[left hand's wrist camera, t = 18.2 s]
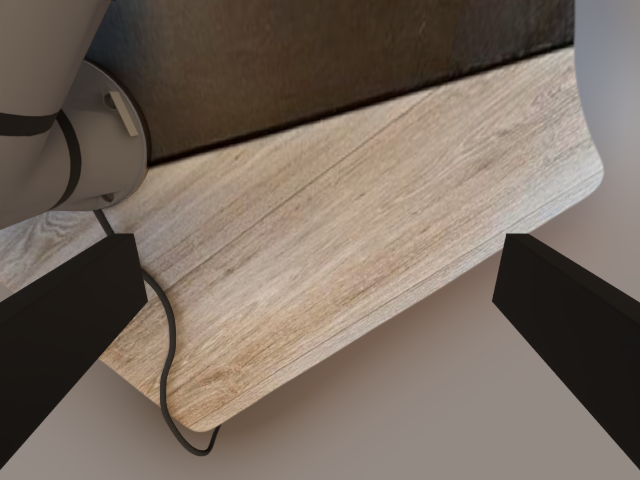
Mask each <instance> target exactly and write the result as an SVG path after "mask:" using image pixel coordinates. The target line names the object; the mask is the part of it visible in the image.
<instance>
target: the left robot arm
mask: <svg viewBox="0 0 640 480" xmlns="http://www.w3.org/2000/svg"><path fill="white" fill-rule="evenodd" d="M111 1H112V0H0V230H1V229H4V228H6V227H9V226H11V225H14V224H16V223H19V222H21V221H24V220H26V219H29V218H31V217H34V216H36V215H39V214H41V213H44V212H46V211H92V210H93V212H94V213H95V215H96V217H97V219H98V220H99V222H100V224H101V226H102V227H103V229H104V231H105V233H106V234H107V237H106V238H104V239H102V240H101V241H99V242H97V243H96V244H94V245H93V246H91V247H89V248H88V249H86V250H84V251H83V252H81V253H80V254H78V255H76V256H75V257H73V258H71V259H70V260H68V261H67V262H65V263H63V264H62V265H60V266H59V267H57V268H55V269H54V270H52V271H50V272H49V273H47V274H46V275H44V276H42V277H41V278H39V279H37V280H36V281H34V282H33V283H31V284H29V285H28V286H26V287H24V288H23V289H21V290H20V291H18V292H16V293H15V294H13V295H12V296H10V297H8V298H7V299H5V300H3V301H2V302H0V470H1V468H2V467H3V466H4V465H5V464H6V463H7V462H8V460H9V459H10V458H11V457H12V456H13V455H14V454H15V452H16V451H17V450H18V449H19V448H20V447H21V446H22V444H23V443H24V442H25V441H26V440H27V439H28V438H29V436H30V435H31V434H32V433H33V432H34V431H35V430H36V429H37V427H38V426H39V425H40V424H41V423H42V422H43V421H44V419H45V418H46V417H47V416H48V415H49V414H50V413H51V411H52V410H53V409H54V408H55V407H56V406H57V404H58V403H59V402H60V401H61V400H62V399H63V398H64V397H65V395H66V394H67V393H68V392H69V391H70V390H71V389H72V387H73V386H74V385H75V384H76V383H77V382H78V381H79V379H80V378H81V377H82V376H83V375H84V374H85V373H86V371H87V370H88V369H89V368H90V367H91V366H92V365H93V363H94V362H95V361H96V360H97V359H98V358H99V357H100V356H101V354H102V353H103V352H104V351H105V350H106V349H107V348H108V346H109V345H110V344H111V343H112V342H113V341H114V340H115V338H116V337H117V336H118V335H119V334H120V333H121V332H122V330H123V329H124V328H125V327H126V326H127V325H128V324H129V322H130V321H131V320H132V319H133V318H134V317H135V316H136V314H137V313H138V312H139V311H140V310H141V309H142V308H143V306H144V305H145V304H146V303H147V302H148V299H147V294H146V289H145V285H144V280H145V281H146V282H147V283H148V284H149V285H150V286H151V287H152V288H153V289H154V291H155V292H156V293H157V295H158V296H159V298H160V300H161V302H162V304H163V306H164V308H165V311H166V314H167V318H168V322H169V333H170V348H169V354H168V358H167V361H166V364H165V367H164V369H163V373H162V376H161V382H160V405H161V410H162V414H163V416H164V419H165V421H166V423H167V424H168V426H169V428H170V429H171V431H172V432H173V434H174V435H175V437H176V438H177V440H178V441H179V442H180V443H181V444H182V446H183V447H184V448H185V449H187V450H188V451H189V452H191V453H192V454H194V455H197V456H206V455H208V454H209V453H210V452H211V450H212V448H213V446H214V443H215V440H216V437H217V434H218V431H219V429H220V427H221V424H222V423H221V424H219V425H218V426H216V427H215V430H214V432H213V434H212V437H211V441H210V444H209V446H208V448H207V449H206V450H198V449H196V448H194V447H192V446H191V445H190V444H189V443H188V442H187V441H186V440H185V439H184V438H183V436H182V435H181V434H180V432H179V431H178V429H177V428H176V426H175V425H174V423H173V421H172V419H171V418H170V415H169V413H168V410H167V405H166V381H167V376H168V372H169V369H170V366H171V364H172V361H173V358H174V354H175V349H176V326H175V319H174V314H173V311H172V308H171V305H170V303H169V301H168V299H167V297H166V295H165V293H164V292H163V290H162V289H161V287H160V286H159V285H158V284H157V283H156V282H155V280H154V279H153V278H152V277H151V276H149V275H148V274H147V273H146V272H145V271H144V270H143V269H142V268H141V266H140V261H139V256H138V252H137V247H136V242H135V238H134V234H115V233H114V231H113V230H112V228H111V226H110V224H109V223H108V221H107V219H106V217H105V215H104V214H103V212H102V210H101V209H103V208H107V207H109V206H112V205H114V204H116V203H118V202H120V201H122V200H124V199H126V198H127V197H129V196H130V195H131V194H133V193H134V192H135V191H136V190H137V189H138V187H139V186H140V185H141V183H142V182H143V180H144V178H145V177H146V174H147V172H148V169H149V165H150V161H151V138H150V132H149V128H148V125H147V122H146V119H145V116H144V114H143V112H142V110H141V108H140V106H139V104H138V103H137V101H136V100H135V98H134V97H133V95H132V94H131V93H130V91H129V90H128V89H127V88H126V87H125V86H124V85H123V83H122V82H121V81H120V80H118V79H117V78H116V77H115V76H114V75H113V74H111V73H110V72H109V71H107V70H106V69H104V68H103V67H101V66H100V65H98V64H96V63H94V62H92V61H90V60H88V59H85V58H84V57H85V55H86V53H87V51H88V49H89V47H90V44H91V42H92V40H93V38H94V36H95V34H96V32H97V30H98V28H99V26H100V24H101V22H102V19H103V17H104V15H105V13H106V11H107V9H108V7H109V5H110V3H111ZM113 1H115V0H113ZM143 279H144V280H143ZM492 302H493V303H494V304H495V305H496V306H497V308H498V309H499V310H500V311H501V312H502V313H503V314H504V316H505V317H506V318H507V319H508V320H509V321H510V322H511V324H512V325H513V326H514V327H515V328H516V329H517V330H518V332H519V333H520V334H521V335H522V336H523V337H524V338H525V340H526V341H527V342H528V343H529V344H530V345H531V346H532V348H533V349H534V350H535V351H536V352H537V353H538V354H539V356H540V357H541V358H542V359H543V360H544V361H545V362H546V363H547V365H548V366H549V367H550V368H551V369H552V370H553V371H554V372H555V374H556V375H557V376H558V377H559V378H560V379H561V381H562V382H563V383H564V384H565V385H566V386H567V387H568V389H569V390H570V391H571V392H572V393H573V394H574V395H575V397H576V398H577V399H578V400H579V401H580V402H581V403H582V405H583V406H584V407H585V408H586V409H587V410H588V411H589V413H590V414H591V415H592V416H593V417H594V418H595V419H596V420H597V422H598V423H599V424H600V425H601V426H602V427H603V428H604V430H605V431H606V432H607V433H608V434H609V435H610V436H611V438H612V439H613V440H614V441H615V442H616V443H617V444H618V446H619V447H620V448H621V449H622V450H623V451H624V452H625V454H626V455H627V456H628V457H629V458H630V459H631V460H632V462H633V463H634V464H635V465H636V466H637V467H638V468H639V470H640V302H638V301H636V300H635V299H633V298H632V297H630V296H628V295H627V294H625V293H624V292H622V291H620V290H619V289H617V288H615V287H614V286H612V285H611V284H609V283H607V282H606V281H604V280H603V279H601V278H599V277H598V276H596V275H594V274H593V273H591V272H589V271H588V270H586V269H585V268H583V267H581V266H580V265H578V264H577V263H575V262H573V261H572V260H570V259H569V258H567V257H565V256H564V255H562V254H560V253H559V252H557V251H556V250H554V249H552V248H551V247H549V246H547V245H546V244H544V243H543V242H541V241H539V240H538V239H536V238H534V237H533V236H531V235H530V234H506V238H505V242H504V247H503V252H502V256H501V261H500V266H499V271H498V275H497V280H496V285H495V290H494V294H493V299H492Z"/></svg>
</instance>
